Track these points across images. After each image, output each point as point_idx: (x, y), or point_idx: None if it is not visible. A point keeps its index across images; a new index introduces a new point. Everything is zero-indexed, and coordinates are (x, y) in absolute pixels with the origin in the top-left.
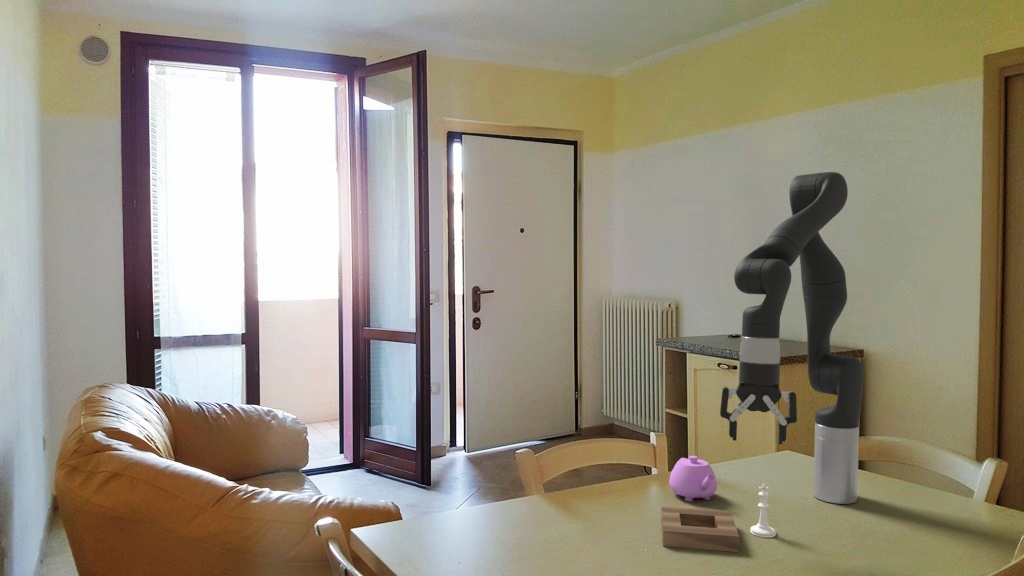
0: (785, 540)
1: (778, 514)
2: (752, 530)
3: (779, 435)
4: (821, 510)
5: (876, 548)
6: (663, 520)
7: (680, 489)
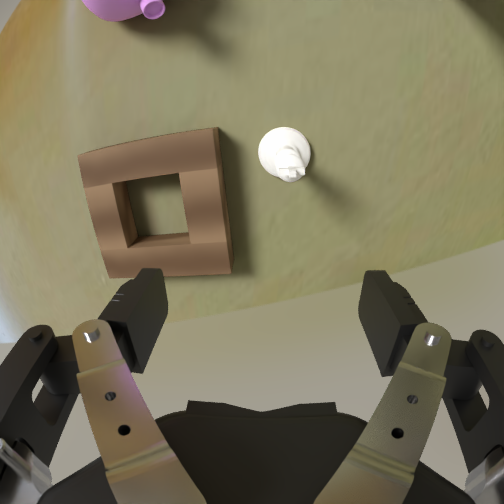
0: (324, 182)
1: (328, 32)
2: (262, 164)
3: (370, 340)
4: (413, 5)
5: (460, 188)
6: (96, 232)
7: (104, 19)
